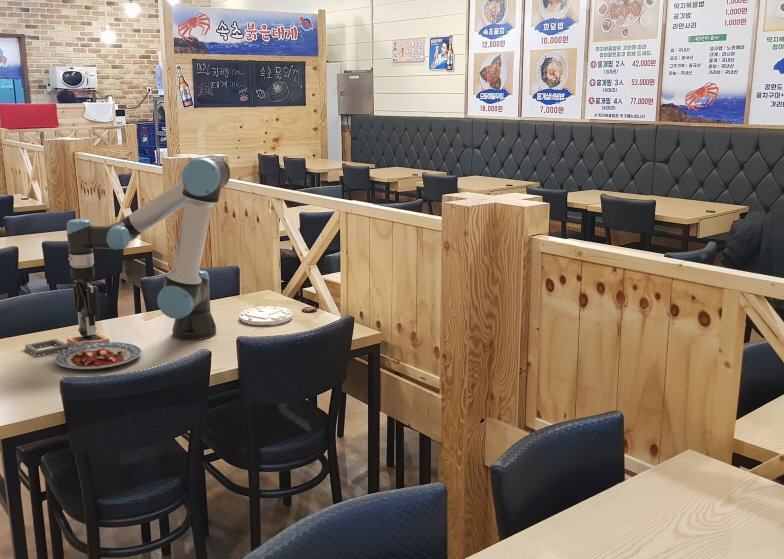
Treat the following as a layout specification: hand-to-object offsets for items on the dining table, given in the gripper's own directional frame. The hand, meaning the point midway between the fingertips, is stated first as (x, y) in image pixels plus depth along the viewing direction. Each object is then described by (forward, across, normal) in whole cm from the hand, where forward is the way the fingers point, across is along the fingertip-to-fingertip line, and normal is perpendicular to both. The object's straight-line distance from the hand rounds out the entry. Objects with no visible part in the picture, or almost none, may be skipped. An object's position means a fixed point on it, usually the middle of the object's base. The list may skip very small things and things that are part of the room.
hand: (87, 332), depth 259 cm
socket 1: (+4, -2, -13) cm, 14 cm away
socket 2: (+4, 0, 0) cm, 4 cm away
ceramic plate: (+4, +20, -5) cm, 21 cm away
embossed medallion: (+4, +16, +62) cm, 64 cm away
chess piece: (+3, 0, 0) cm, 3 cm away
